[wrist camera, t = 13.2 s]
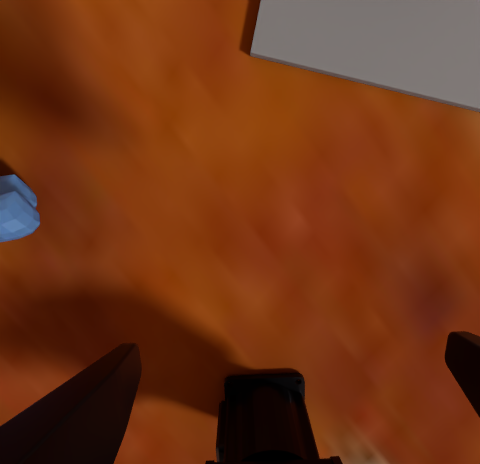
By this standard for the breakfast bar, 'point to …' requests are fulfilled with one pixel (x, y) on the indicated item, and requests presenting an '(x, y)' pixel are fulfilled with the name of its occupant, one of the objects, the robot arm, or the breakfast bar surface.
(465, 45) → the pad
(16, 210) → the grapes
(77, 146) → the breakfast bar surface
